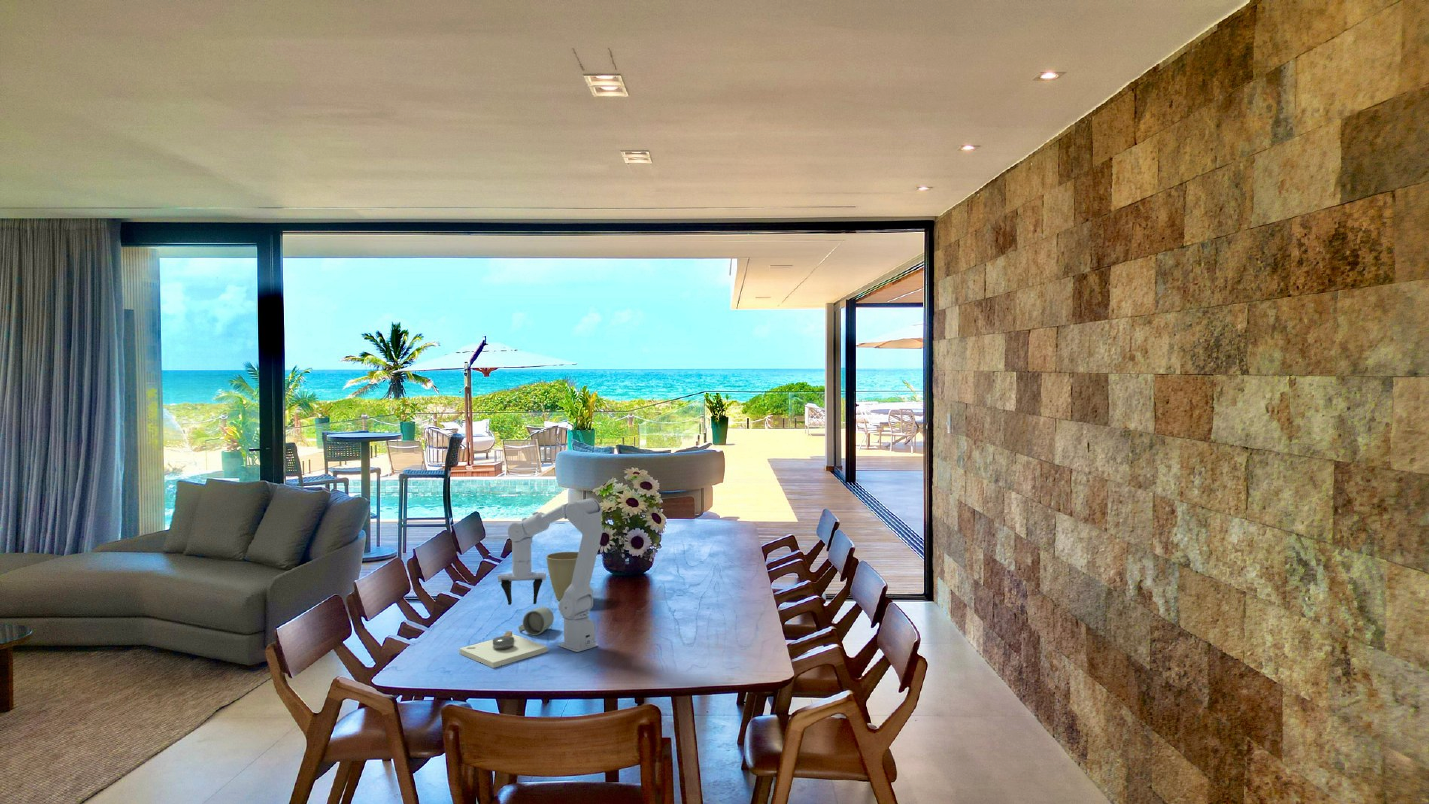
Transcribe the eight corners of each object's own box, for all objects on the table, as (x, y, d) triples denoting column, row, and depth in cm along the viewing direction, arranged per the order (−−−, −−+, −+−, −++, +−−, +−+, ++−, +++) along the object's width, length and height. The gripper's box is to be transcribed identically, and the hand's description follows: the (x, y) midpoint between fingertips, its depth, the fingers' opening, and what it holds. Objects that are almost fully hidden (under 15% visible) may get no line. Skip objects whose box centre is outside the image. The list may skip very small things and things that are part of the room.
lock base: (547, 651, 227) (547, 646, 227) (493, 668, 214) (492, 662, 214) (512, 638, 239) (512, 633, 239) (459, 653, 226) (459, 648, 226)
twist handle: (511, 649, 224) (511, 642, 224) (490, 649, 223) (490, 642, 223) (519, 637, 235) (519, 630, 235) (499, 637, 234) (499, 631, 234)
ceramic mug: (555, 628, 250) (555, 604, 250) (544, 636, 242) (544, 611, 242) (525, 627, 252) (524, 603, 252) (513, 634, 244) (512, 610, 244)
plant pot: (583, 603, 279) (583, 559, 278) (542, 603, 279) (541, 559, 279) (591, 593, 294) (590, 551, 293) (551, 593, 294) (551, 551, 294)
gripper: (547, 556, 246) (547, 599, 247) (500, 558, 245) (501, 601, 245) (544, 561, 239) (544, 605, 239) (496, 563, 238) (496, 607, 238)
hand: (522, 603), depth 242 cm, fingers open, 7 cm apart
